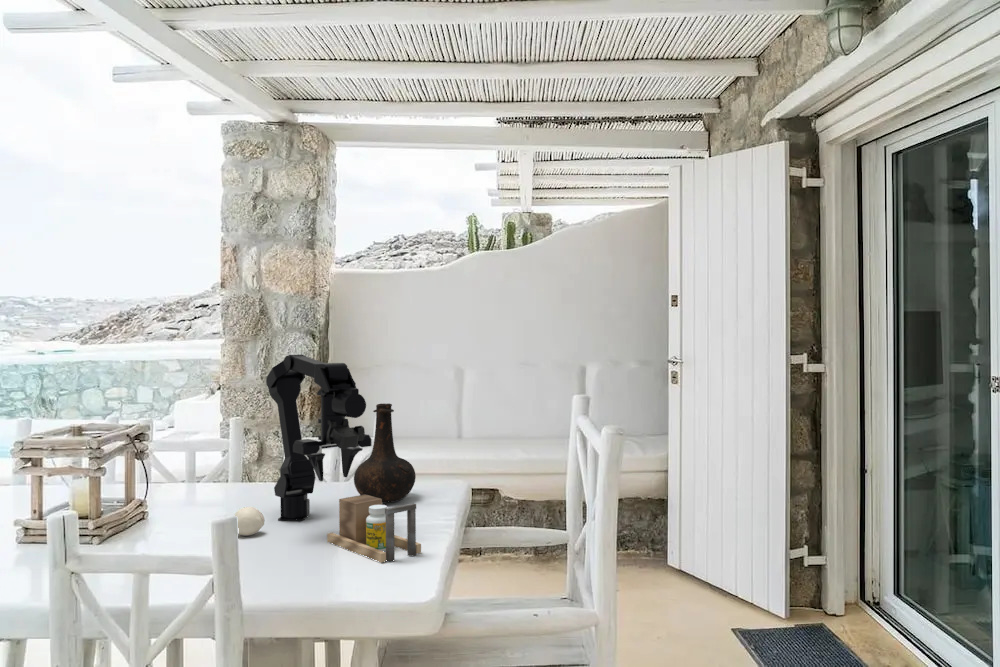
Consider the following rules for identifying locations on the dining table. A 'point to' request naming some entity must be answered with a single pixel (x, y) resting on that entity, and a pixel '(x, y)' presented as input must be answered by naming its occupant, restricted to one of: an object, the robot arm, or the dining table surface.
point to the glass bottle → (384, 464)
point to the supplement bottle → (376, 527)
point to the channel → (391, 539)
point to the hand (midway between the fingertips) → (333, 479)
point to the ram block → (355, 516)
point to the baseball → (249, 520)
